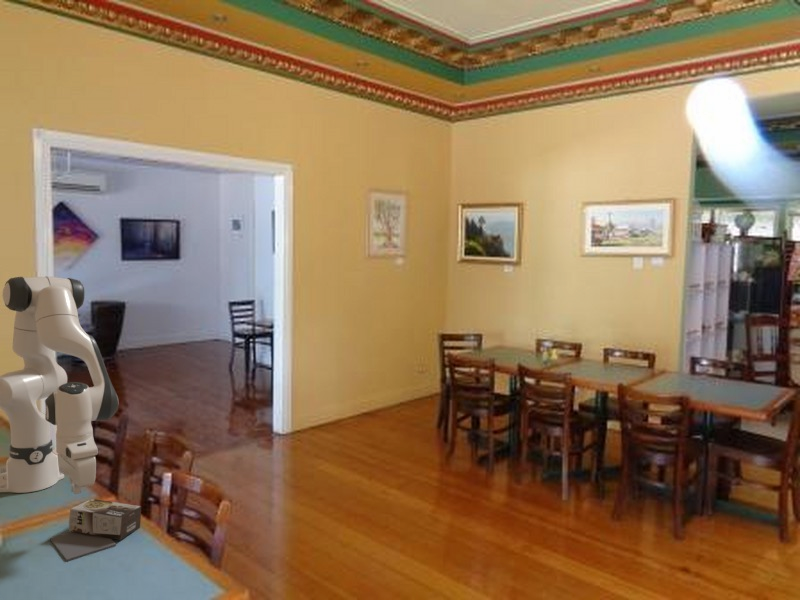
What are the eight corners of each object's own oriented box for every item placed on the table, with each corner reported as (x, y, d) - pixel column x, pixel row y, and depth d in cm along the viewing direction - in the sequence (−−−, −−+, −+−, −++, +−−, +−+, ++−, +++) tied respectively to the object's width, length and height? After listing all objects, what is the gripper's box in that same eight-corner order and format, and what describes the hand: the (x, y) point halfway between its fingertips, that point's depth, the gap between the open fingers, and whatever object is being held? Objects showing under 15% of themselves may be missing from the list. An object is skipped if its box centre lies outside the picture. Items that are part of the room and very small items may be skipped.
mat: (50, 539, 162) (50, 537, 162) (97, 525, 170) (97, 524, 170) (66, 561, 151) (66, 559, 151) (116, 545, 160) (116, 543, 160)
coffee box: (67, 531, 164) (119, 540, 161) (69, 508, 164) (121, 517, 161) (91, 519, 173) (140, 528, 170) (92, 497, 173) (142, 505, 170)
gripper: (50, 436, 167) (52, 484, 168) (73, 455, 153) (75, 507, 154) (75, 431, 172) (76, 478, 173) (100, 450, 157) (101, 500, 158)
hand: (76, 492), depth 163 cm, fingers closed
